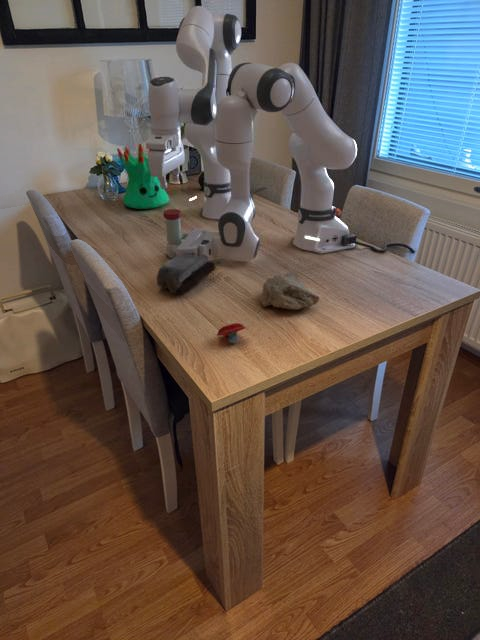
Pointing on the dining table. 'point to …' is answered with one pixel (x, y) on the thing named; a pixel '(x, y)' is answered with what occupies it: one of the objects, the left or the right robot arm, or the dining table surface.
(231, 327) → the red toy mushroom
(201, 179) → the toy
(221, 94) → the left robot arm
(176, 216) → the lid
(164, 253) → the dining table surface
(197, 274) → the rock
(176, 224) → the jar
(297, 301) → the rough grey stone
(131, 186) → the toy
